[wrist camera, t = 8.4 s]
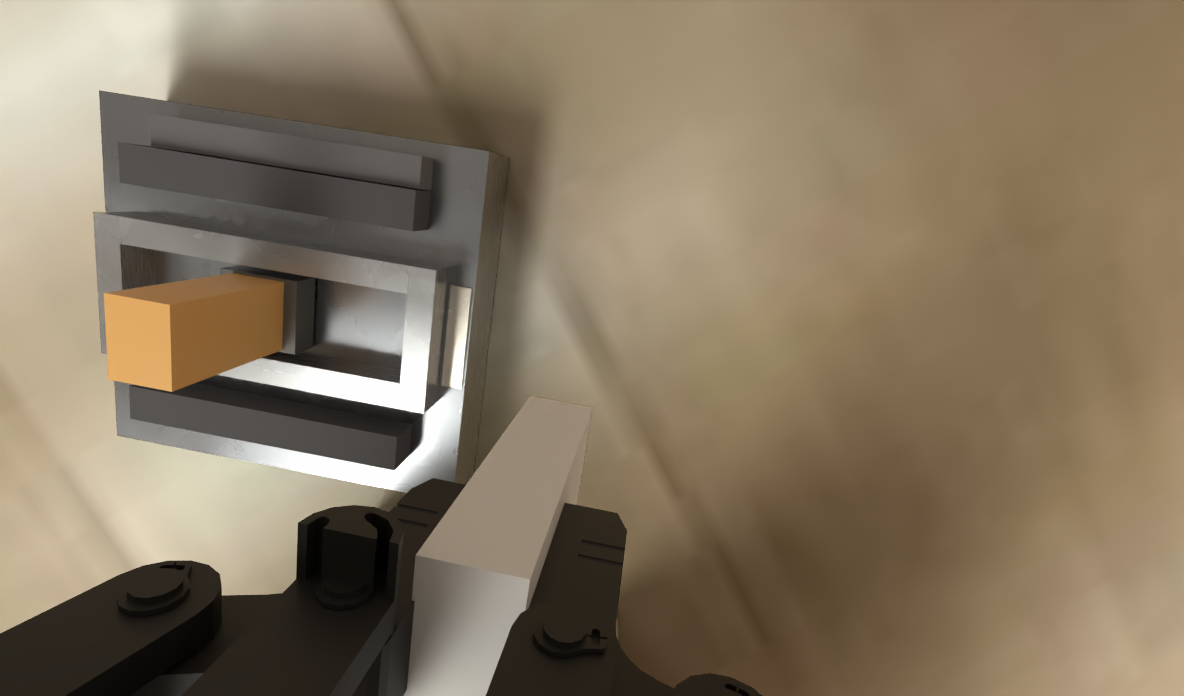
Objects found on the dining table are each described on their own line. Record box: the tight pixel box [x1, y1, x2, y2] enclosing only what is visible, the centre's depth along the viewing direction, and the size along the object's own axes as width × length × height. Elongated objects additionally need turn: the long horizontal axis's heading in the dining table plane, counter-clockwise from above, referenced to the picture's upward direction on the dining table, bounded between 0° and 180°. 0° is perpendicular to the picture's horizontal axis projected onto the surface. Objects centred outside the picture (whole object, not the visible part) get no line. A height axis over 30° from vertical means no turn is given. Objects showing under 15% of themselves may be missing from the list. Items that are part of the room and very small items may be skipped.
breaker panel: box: [93, 91, 510, 493], centre depth 24 cm, size 15×14×4 cm
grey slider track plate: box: [118, 113, 434, 470], centre depth 22 cm, size 11×12×1 cm
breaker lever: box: [104, 265, 315, 392], centre depth 20 cm, size 3×3×6 cm
